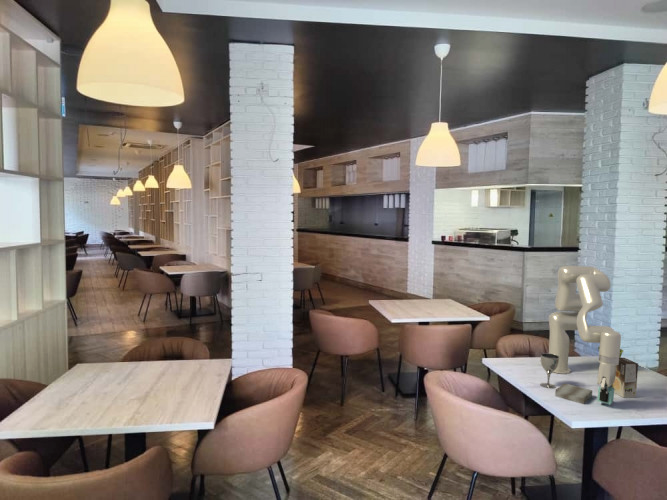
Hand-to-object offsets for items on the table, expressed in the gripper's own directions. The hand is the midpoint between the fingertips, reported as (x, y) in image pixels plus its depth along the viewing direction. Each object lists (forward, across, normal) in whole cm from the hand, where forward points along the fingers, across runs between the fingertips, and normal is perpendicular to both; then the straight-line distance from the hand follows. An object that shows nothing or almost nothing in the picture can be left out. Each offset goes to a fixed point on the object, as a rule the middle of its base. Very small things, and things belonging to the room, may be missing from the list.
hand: (605, 398), depth 198 cm
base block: (+3, 0, -13) cm, 13 cm away
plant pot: (+4, -56, -12) cm, 57 cm away
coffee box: (+3, -21, +2) cm, 21 cm away
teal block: (+1, 0, 0) cm, 1 cm away
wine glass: (+3, -5, -26) cm, 26 cm away
